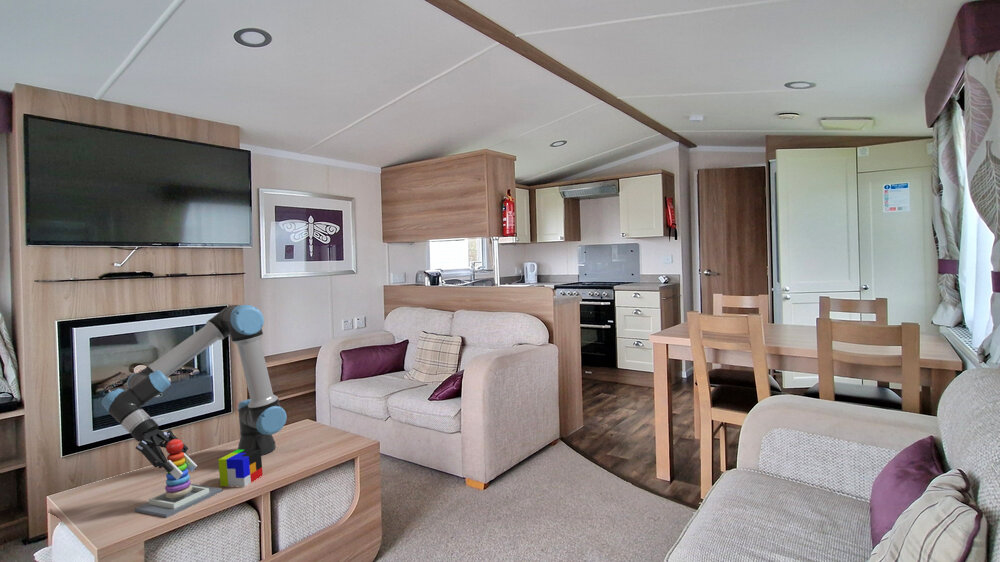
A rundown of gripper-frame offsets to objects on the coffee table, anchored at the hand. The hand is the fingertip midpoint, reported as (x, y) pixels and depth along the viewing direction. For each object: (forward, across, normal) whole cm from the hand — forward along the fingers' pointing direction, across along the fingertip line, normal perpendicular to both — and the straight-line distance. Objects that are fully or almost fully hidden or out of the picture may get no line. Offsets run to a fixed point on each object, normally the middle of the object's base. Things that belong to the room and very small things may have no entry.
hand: (187, 472), depth 178 cm
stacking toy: (+3, 0, -8) cm, 8 cm away
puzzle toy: (+13, -16, -2) cm, 21 cm away
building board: (+4, 0, -10) cm, 10 cm away
